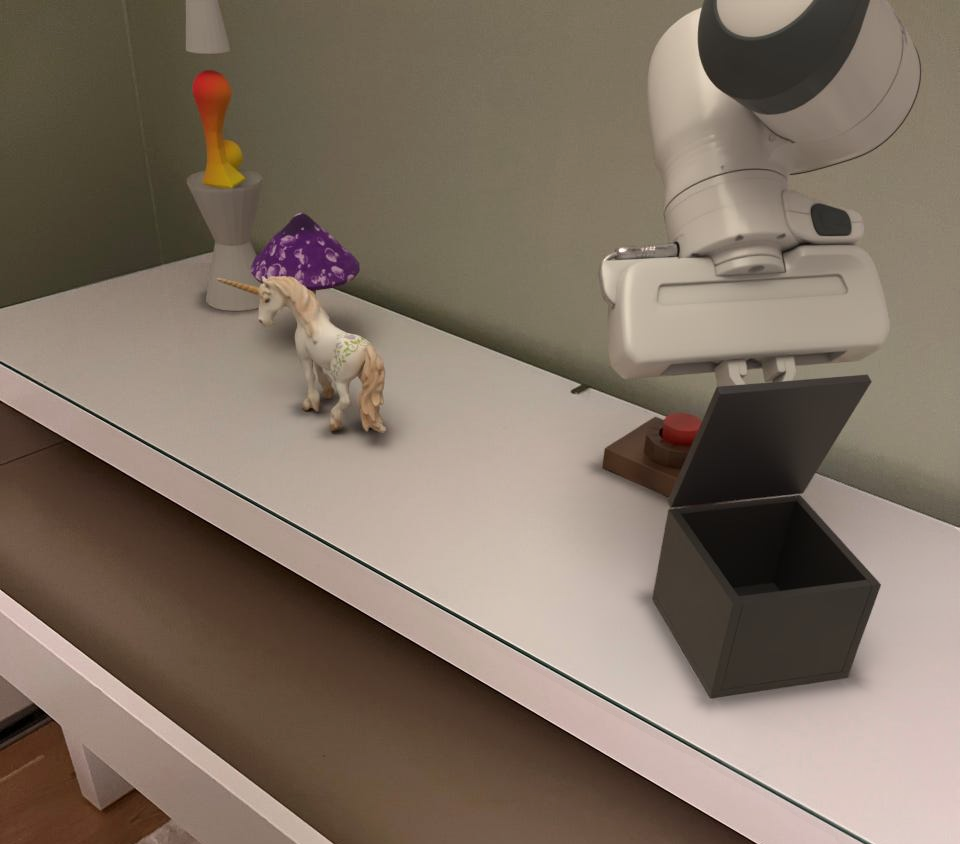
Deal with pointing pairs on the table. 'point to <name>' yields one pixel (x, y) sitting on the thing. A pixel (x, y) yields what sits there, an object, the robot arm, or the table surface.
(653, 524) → the table surface
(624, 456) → the console
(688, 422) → the button
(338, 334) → the unicorn figurine
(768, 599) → the dark grey cubic box
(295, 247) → the decorative mushroom
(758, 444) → the lid
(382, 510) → the table surface
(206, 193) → the lava lamp
